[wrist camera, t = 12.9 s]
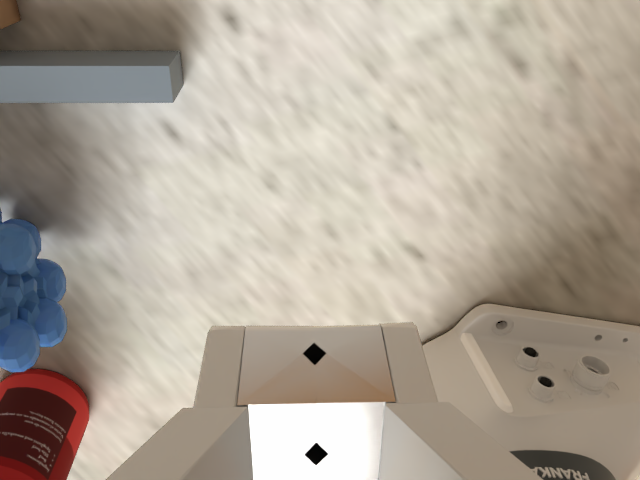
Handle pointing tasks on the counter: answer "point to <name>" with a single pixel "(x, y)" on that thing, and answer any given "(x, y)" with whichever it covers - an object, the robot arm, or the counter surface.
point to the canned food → (40, 425)
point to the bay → (90, 76)
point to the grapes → (27, 297)
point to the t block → (8, 13)
